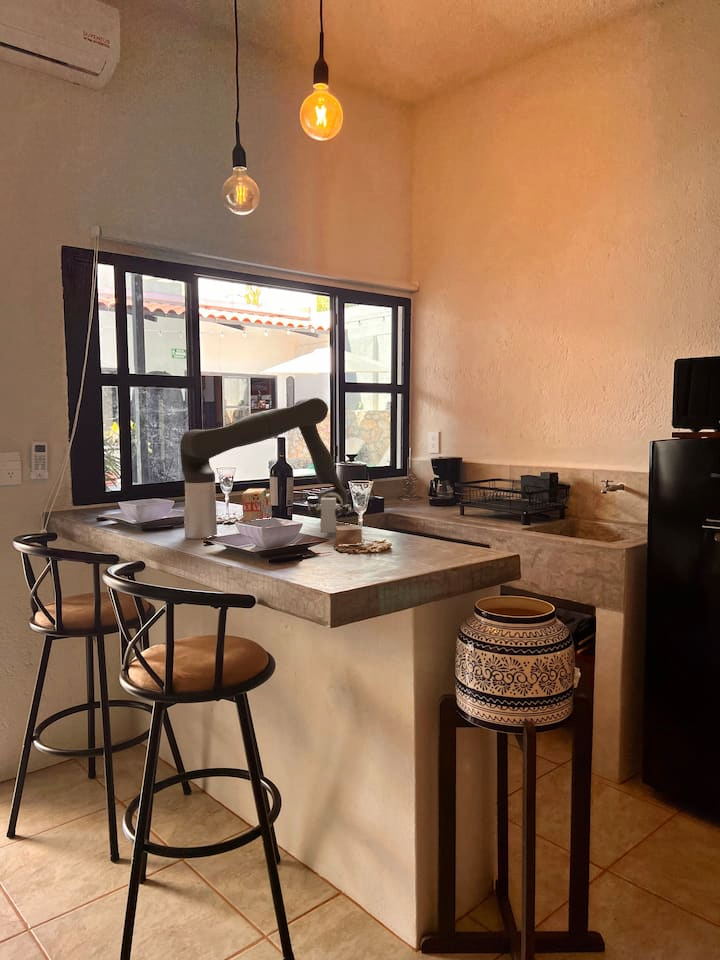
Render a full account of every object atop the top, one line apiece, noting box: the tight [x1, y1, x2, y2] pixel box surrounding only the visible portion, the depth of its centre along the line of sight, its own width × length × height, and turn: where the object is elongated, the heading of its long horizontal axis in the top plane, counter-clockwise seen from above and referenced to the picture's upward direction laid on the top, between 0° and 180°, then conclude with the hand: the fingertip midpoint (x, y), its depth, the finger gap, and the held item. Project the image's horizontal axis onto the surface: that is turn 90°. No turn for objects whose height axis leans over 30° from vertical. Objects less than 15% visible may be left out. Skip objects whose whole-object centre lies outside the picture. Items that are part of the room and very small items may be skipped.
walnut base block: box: [335, 524, 363, 546], centre depth 200 cm, size 7×7×5 cm
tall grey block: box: [320, 498, 337, 533], centre depth 210 cm, size 4×4×10 cm
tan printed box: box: [241, 487, 272, 523], centre depth 237 cm, size 21×6×12 cm, turn 179°
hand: (328, 512), depth 207 cm, fingers closed on tall grey block, 4 cm apart
